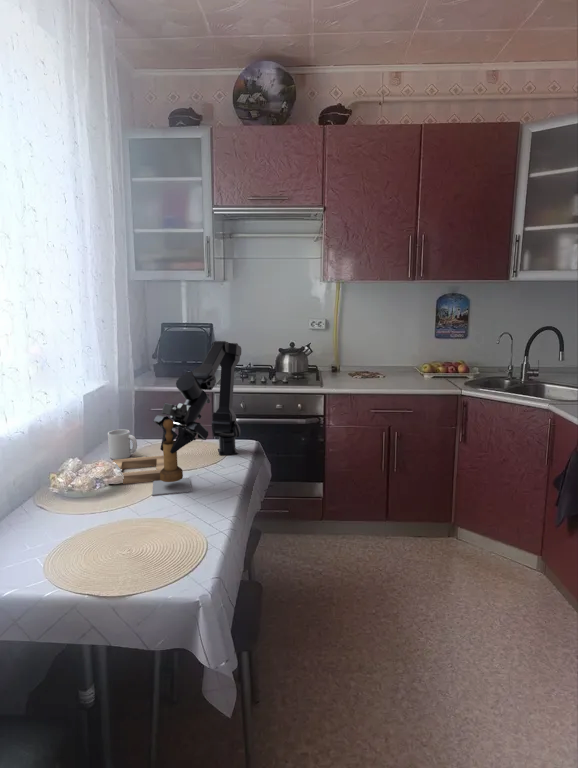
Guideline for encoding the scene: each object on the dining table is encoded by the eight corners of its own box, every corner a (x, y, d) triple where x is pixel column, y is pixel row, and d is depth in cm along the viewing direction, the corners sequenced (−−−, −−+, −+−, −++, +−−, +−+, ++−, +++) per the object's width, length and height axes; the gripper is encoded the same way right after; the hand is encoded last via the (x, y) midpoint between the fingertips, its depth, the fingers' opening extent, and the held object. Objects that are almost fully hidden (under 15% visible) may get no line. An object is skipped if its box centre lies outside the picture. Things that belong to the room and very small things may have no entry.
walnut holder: (114, 466, 173) (113, 459, 173) (166, 462, 177) (165, 455, 176) (108, 485, 157) (108, 477, 156) (166, 479, 161) (166, 472, 160)
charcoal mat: (153, 482, 159) (153, 481, 159) (189, 478, 161) (189, 477, 161) (152, 495, 148) (152, 494, 148) (191, 492, 151) (191, 490, 151)
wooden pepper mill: (171, 483, 150) (167, 423, 147) (155, 479, 153) (151, 420, 150) (187, 476, 156) (184, 418, 152) (171, 472, 159) (168, 415, 155)
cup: (114, 453, 188) (112, 429, 186) (141, 453, 187) (140, 429, 185) (106, 459, 180) (104, 435, 179) (134, 460, 180) (132, 435, 178)
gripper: (156, 388, 158) (128, 432, 152) (199, 396, 147) (171, 443, 141) (177, 408, 166) (152, 451, 159) (219, 416, 155) (194, 462, 148)
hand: (166, 451), depth 152 cm, fingers closed on wooden pepper mill, 4 cm apart
